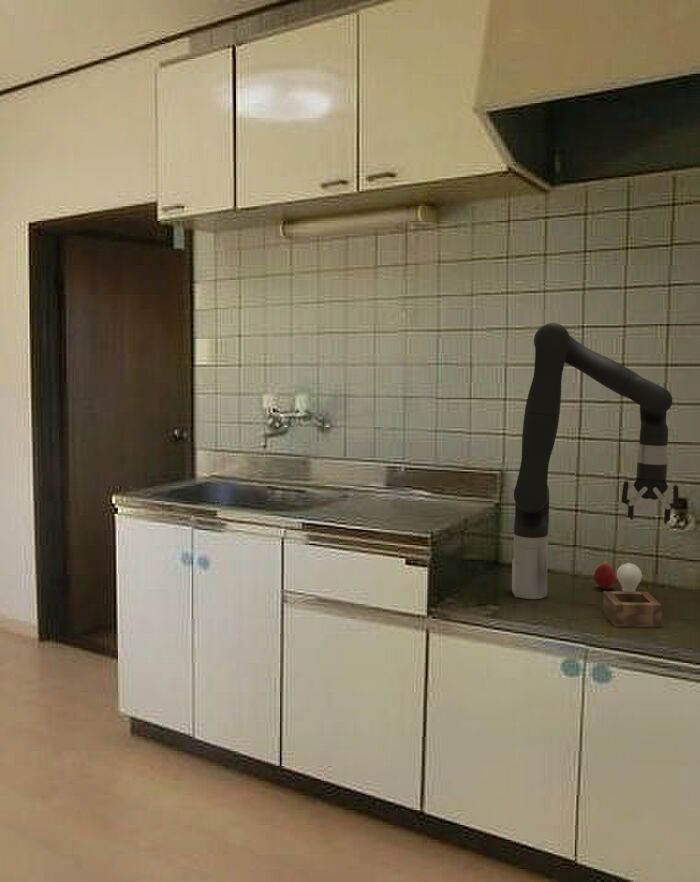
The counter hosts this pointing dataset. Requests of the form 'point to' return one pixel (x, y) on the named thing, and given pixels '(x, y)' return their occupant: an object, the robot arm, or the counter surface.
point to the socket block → (632, 609)
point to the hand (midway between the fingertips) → (648, 521)
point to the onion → (604, 576)
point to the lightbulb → (629, 577)
